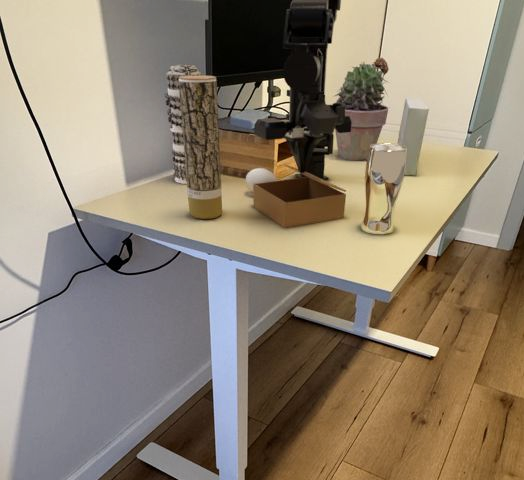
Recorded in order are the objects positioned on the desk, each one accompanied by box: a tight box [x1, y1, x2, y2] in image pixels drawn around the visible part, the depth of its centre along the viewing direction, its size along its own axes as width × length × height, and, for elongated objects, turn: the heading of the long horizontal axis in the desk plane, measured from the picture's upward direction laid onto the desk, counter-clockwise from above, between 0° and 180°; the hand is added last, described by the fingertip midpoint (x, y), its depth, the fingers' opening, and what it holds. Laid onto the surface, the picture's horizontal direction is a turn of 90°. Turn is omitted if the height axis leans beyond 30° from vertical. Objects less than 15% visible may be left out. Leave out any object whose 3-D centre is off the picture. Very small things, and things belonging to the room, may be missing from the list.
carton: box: [252, 177, 347, 229], centre depth 102 cm, size 15×14×5 cm
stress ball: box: [245, 167, 278, 193], centre depth 113 cm, size 8×8×7 cm
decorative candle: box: [164, 64, 203, 185], centre depth 117 cm, size 9×9×25 cm
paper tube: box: [178, 75, 223, 220], centre depth 95 cm, size 7×7×25 cm
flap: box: [284, 164, 347, 193], centre depth 101 cm, size 14×7×1 cm, turn 26°
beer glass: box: [360, 142, 407, 235], centre depth 91 cm, size 7×7×15 cm
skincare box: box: [396, 97, 430, 176], centre depth 132 cm, size 21×6×16 cm, turn 168°
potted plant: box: [331, 57, 392, 161], centre depth 138 cm, size 18×20×25 cm
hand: (301, 172), depth 99 cm, fingers closed
